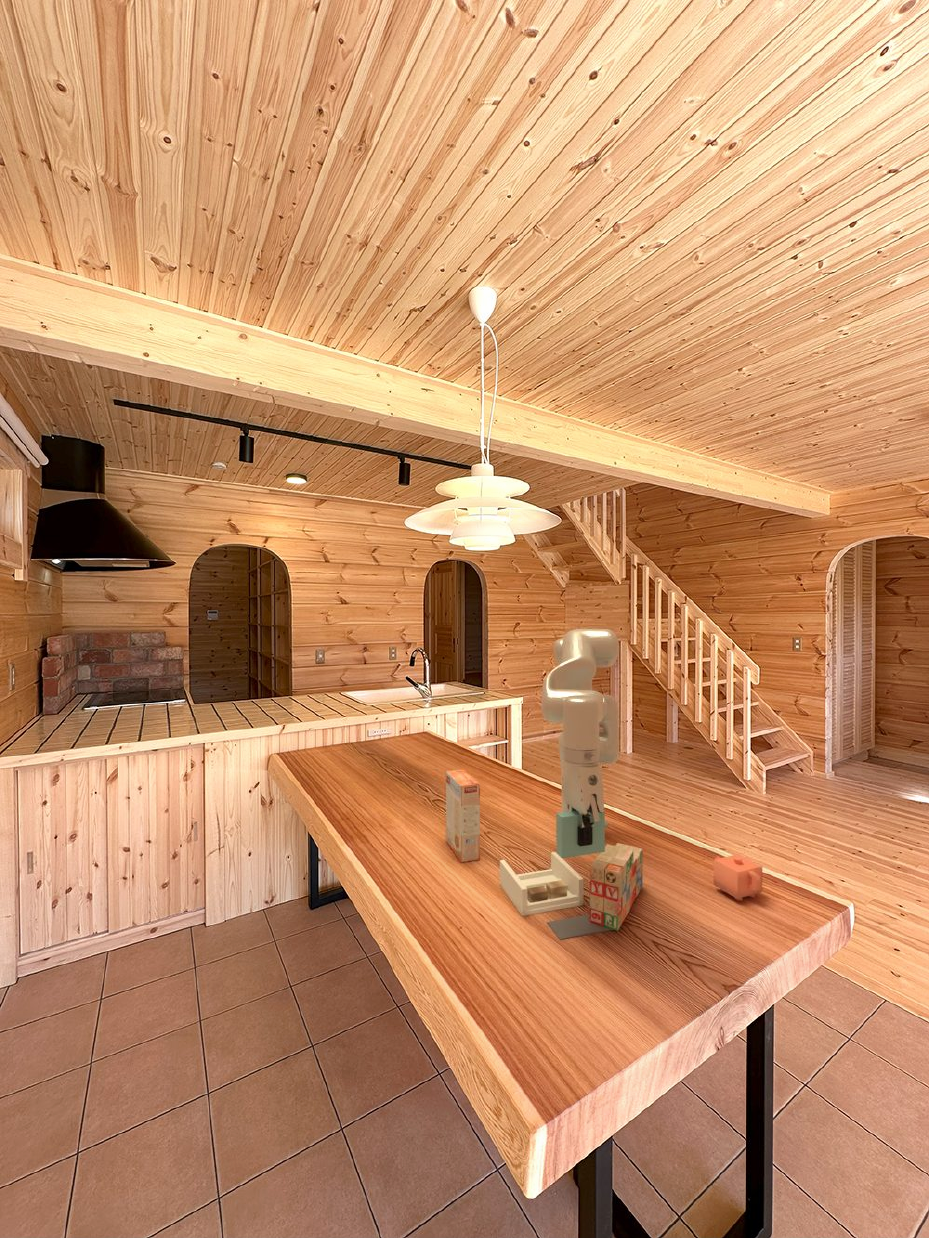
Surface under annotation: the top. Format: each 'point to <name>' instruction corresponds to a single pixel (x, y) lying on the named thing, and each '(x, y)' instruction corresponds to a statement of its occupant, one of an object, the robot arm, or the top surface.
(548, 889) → the pine offcut
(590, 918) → the stack of blocks
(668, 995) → the top surface
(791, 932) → the top surface
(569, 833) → the teal panel
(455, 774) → the cracker box
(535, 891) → the walnut offcut
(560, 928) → the charcoal mat
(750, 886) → the pink cube teapot
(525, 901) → the rack
